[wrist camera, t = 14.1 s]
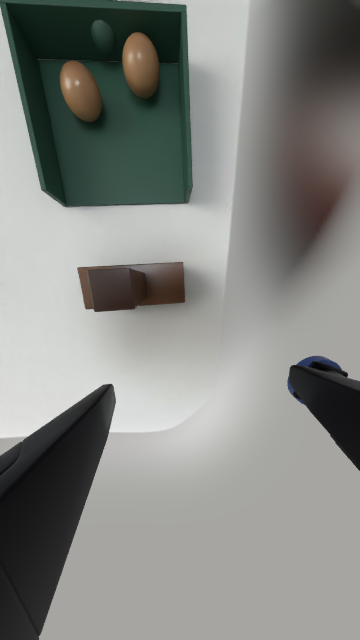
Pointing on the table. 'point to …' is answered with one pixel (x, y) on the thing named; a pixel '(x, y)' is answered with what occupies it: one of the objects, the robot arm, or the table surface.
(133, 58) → the brown ball
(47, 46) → the dustpan
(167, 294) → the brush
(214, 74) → the table surface
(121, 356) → the table surface
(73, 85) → the brown egg
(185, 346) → the table surface
